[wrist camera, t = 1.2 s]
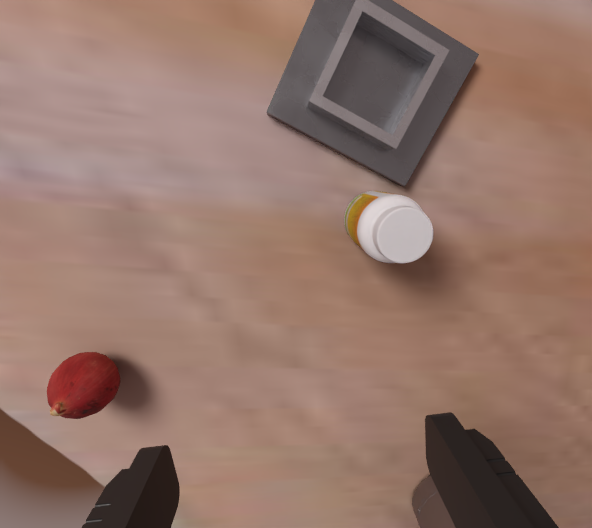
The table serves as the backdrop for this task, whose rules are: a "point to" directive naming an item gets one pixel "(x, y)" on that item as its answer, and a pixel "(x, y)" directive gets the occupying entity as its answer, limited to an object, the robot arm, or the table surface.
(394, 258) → the supplement bottle
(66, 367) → the red fruit
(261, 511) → the table surface
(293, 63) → the plate
